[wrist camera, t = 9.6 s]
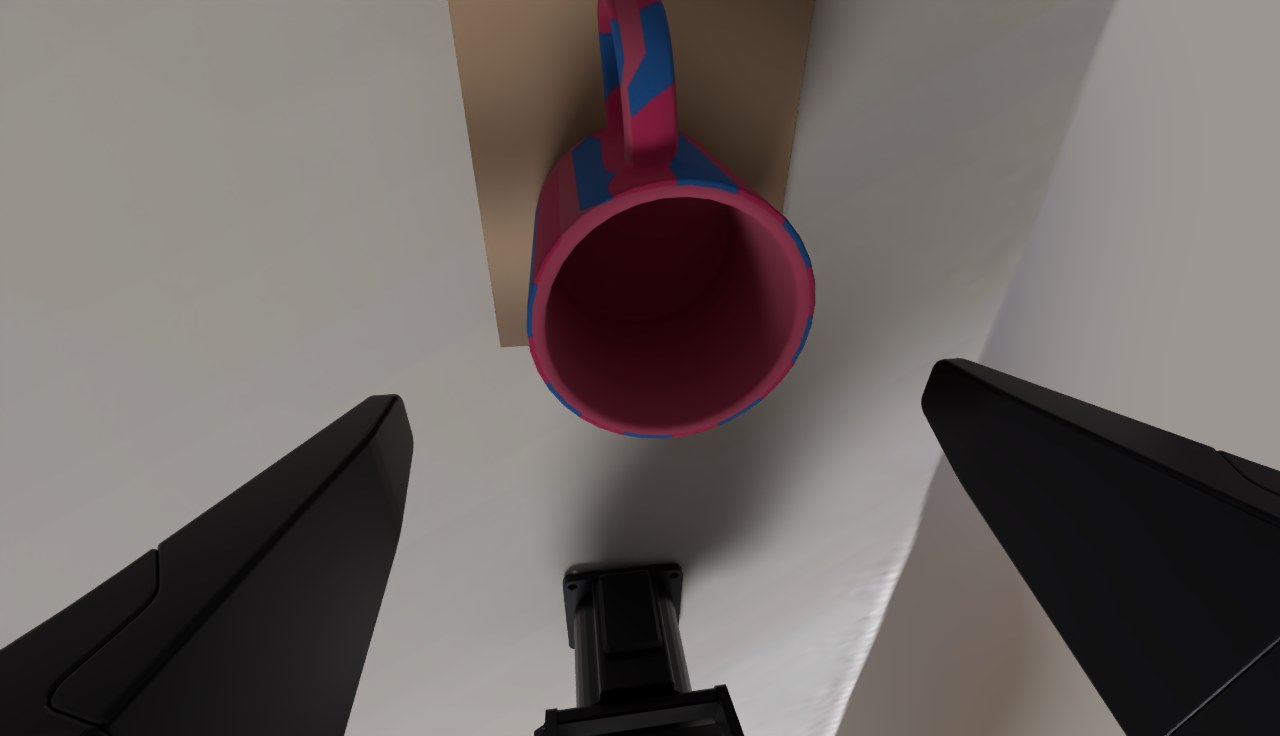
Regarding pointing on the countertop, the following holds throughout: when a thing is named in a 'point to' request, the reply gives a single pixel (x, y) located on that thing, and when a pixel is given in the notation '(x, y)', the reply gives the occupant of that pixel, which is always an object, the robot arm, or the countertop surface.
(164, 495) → the countertop surface
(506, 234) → the coaster board
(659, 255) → the mug
